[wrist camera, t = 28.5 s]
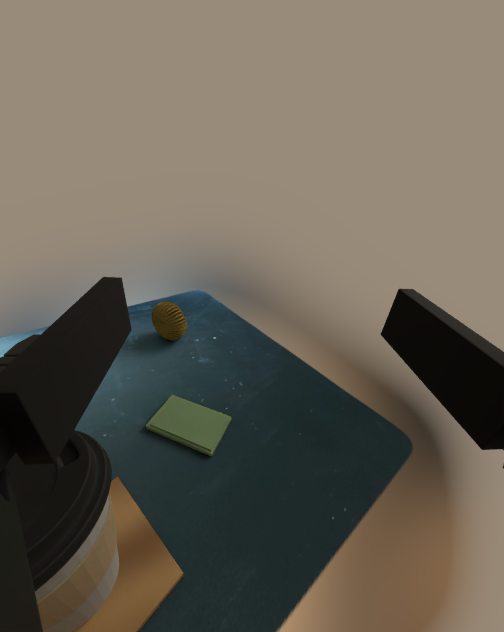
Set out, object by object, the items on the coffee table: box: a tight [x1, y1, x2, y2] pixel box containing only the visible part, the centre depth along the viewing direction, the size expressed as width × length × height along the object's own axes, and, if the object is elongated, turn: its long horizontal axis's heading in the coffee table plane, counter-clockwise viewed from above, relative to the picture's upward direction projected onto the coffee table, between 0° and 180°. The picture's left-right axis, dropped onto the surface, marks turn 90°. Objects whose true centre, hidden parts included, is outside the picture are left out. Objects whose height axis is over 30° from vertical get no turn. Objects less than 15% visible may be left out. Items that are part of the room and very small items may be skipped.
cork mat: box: [71, 477, 184, 632], centre depth 22 cm, size 12×12×1 cm
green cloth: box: [145, 395, 231, 457], centre depth 36 cm, size 10×6×1 cm, turn 70°
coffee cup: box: [6, 430, 119, 632], centre depth 18 cm, size 9×9×15 cm
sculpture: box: [152, 301, 187, 340], centre depth 51 cm, size 8×4×8 cm, turn 55°
